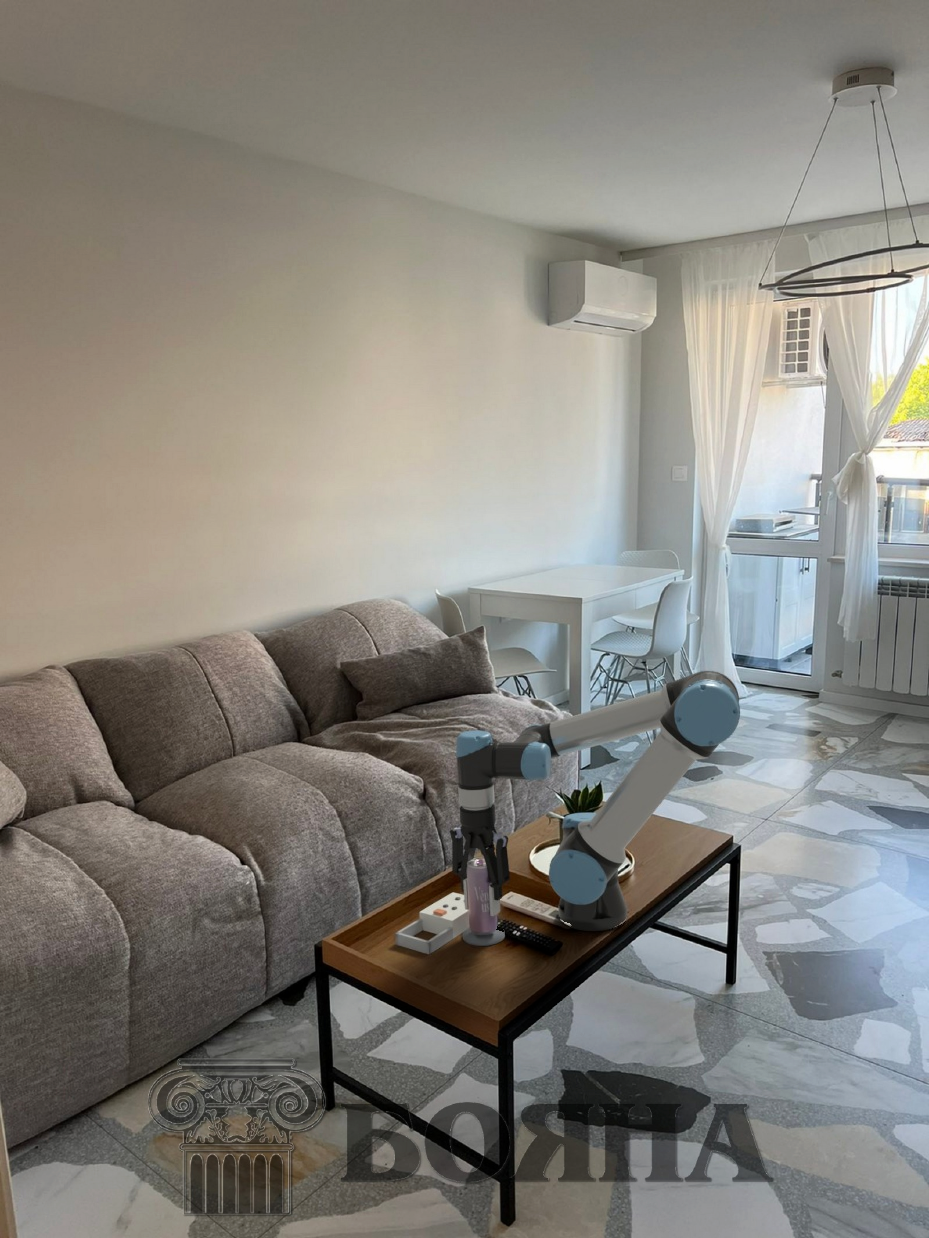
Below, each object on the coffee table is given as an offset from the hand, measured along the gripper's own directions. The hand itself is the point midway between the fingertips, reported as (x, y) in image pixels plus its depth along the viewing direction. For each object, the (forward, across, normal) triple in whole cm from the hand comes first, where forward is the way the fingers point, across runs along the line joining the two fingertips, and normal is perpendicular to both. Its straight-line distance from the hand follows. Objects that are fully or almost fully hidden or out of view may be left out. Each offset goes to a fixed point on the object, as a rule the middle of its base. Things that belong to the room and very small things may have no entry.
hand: (482, 910), depth 200 cm
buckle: (+6, +10, -1) cm, 11 cm away
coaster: (+6, 0, 0) cm, 6 cm away
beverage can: (+5, 0, 0) cm, 5 cm away
